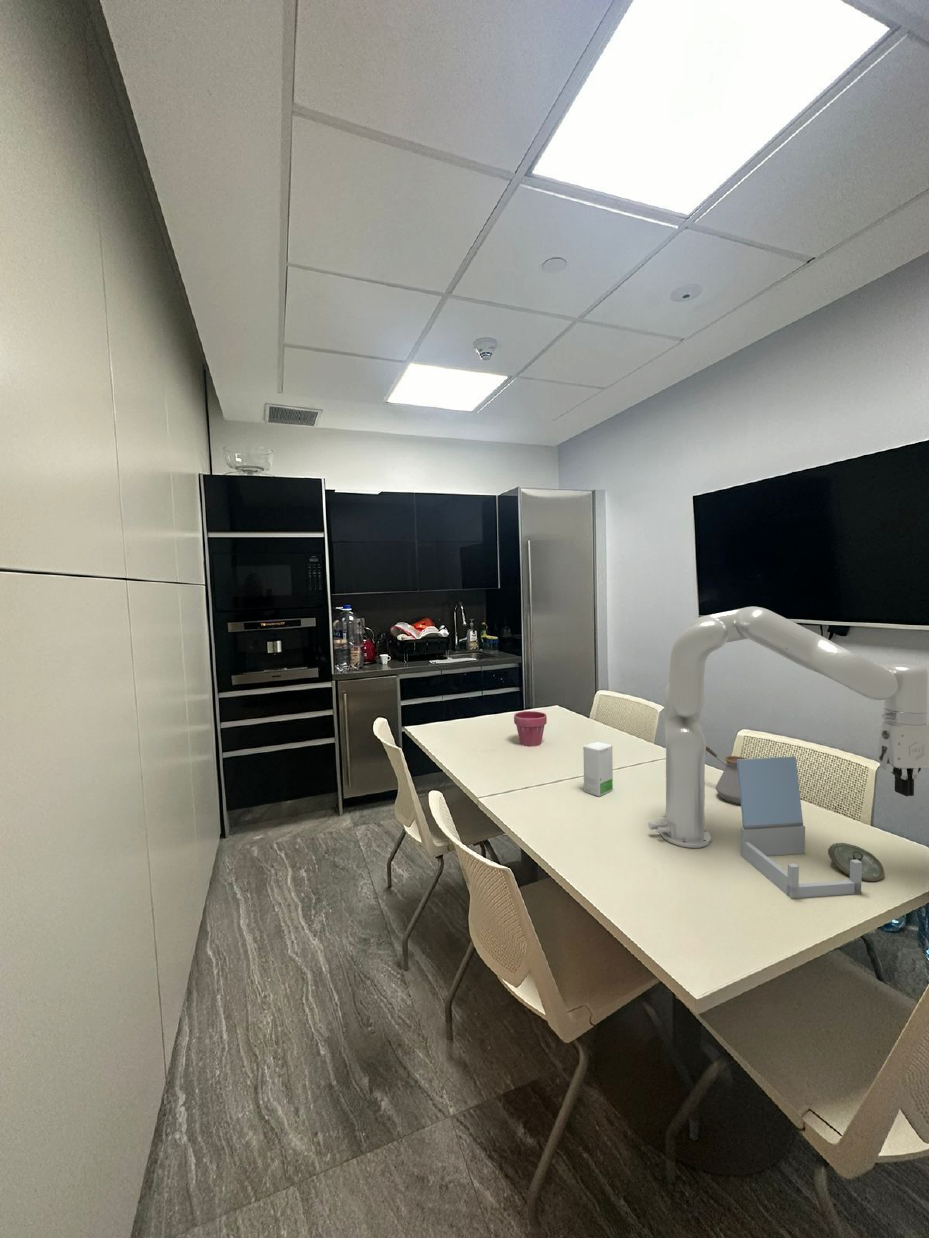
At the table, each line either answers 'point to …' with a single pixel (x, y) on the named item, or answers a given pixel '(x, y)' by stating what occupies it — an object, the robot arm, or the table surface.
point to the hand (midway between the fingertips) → (904, 793)
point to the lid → (847, 852)
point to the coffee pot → (728, 779)
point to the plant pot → (530, 727)
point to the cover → (769, 792)
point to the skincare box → (598, 768)
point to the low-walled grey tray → (786, 843)
